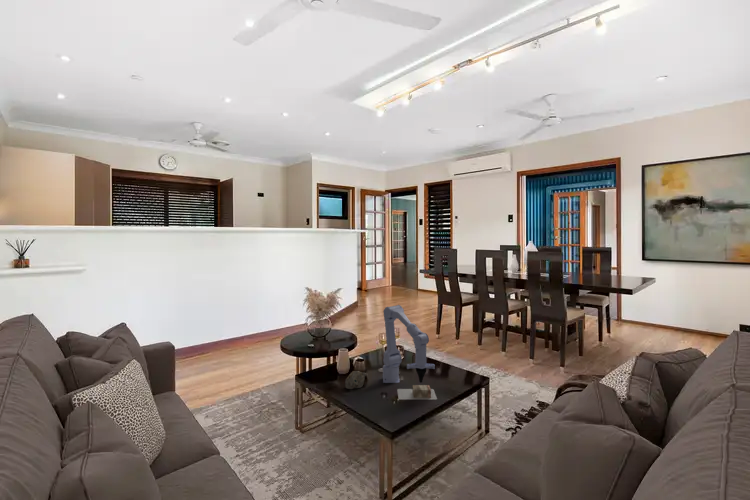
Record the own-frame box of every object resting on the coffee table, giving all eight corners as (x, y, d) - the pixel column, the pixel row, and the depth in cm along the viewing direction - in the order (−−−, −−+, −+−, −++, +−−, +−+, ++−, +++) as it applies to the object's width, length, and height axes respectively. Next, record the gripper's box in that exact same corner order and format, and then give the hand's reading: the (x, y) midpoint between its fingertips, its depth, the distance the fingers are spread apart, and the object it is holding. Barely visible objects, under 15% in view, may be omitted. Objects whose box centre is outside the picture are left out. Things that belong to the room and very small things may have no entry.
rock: (348, 390, 195) (352, 371, 197) (343, 387, 200) (346, 368, 203) (367, 392, 201) (370, 373, 203) (361, 389, 207) (364, 371, 209)
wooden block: (413, 390, 188) (430, 390, 188) (412, 385, 194) (429, 385, 194) (413, 397, 188) (430, 397, 188) (412, 392, 194) (429, 392, 194)
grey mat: (398, 400, 186) (398, 399, 186) (397, 389, 198) (397, 389, 198) (437, 400, 186) (437, 399, 186) (433, 389, 198) (433, 389, 198)
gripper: (407, 359, 186) (407, 384, 187) (435, 359, 186) (435, 385, 187) (406, 354, 193) (406, 379, 194) (433, 354, 193) (433, 379, 194)
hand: (420, 381), depth 191 cm, fingers closed
